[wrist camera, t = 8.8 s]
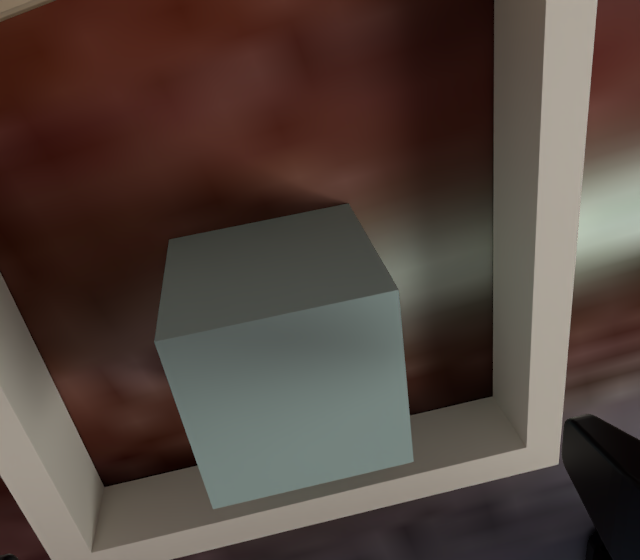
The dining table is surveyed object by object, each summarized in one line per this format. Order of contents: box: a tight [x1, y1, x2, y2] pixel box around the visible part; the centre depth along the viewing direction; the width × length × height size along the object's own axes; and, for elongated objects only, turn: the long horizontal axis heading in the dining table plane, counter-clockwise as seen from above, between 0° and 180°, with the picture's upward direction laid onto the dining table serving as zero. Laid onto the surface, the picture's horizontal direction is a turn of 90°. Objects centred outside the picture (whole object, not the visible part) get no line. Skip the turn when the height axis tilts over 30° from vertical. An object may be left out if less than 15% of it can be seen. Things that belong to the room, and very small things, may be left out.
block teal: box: [154, 203, 414, 509], centre depth 13 cm, size 4×4×4 cm
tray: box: [0, 0, 597, 560], centre depth 12 cm, size 20×14×2 cm
